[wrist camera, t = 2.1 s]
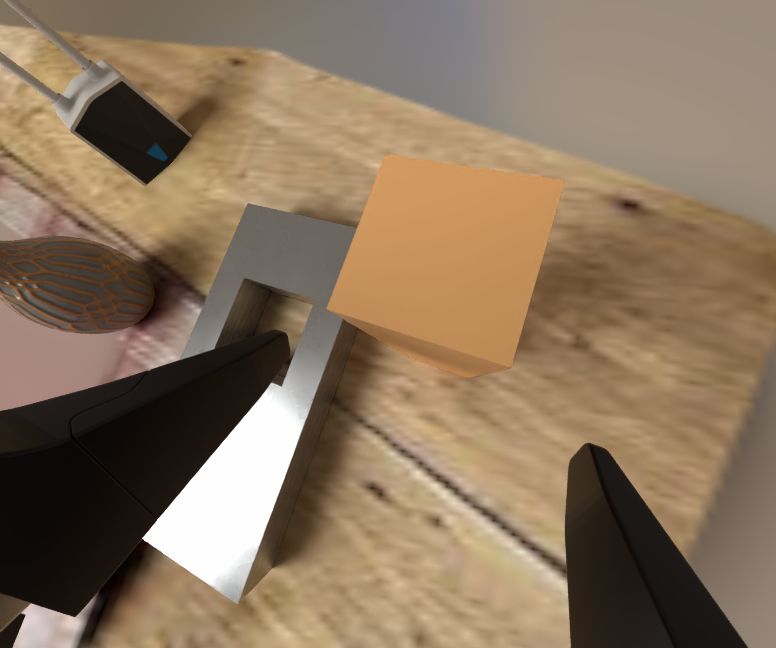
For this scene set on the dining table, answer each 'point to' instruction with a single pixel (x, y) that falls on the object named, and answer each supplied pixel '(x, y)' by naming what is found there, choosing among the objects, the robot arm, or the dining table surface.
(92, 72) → the padlock
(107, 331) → the vase
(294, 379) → the rail
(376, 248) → the peg
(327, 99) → the dining table surface
